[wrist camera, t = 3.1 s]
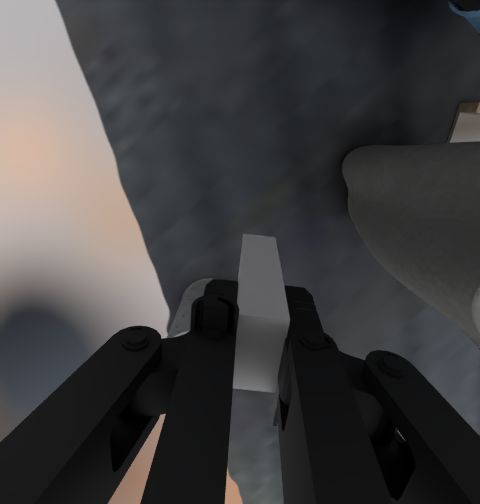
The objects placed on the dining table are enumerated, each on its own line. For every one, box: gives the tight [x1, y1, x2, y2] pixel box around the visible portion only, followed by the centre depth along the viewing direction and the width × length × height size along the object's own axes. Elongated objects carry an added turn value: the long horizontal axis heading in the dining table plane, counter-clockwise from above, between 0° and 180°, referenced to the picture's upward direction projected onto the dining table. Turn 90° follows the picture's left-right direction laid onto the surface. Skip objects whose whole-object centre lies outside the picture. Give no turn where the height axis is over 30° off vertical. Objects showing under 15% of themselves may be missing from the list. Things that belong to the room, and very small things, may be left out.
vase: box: [342, 141, 480, 349], centre depth 27 cm, size 12×12×30 cm
